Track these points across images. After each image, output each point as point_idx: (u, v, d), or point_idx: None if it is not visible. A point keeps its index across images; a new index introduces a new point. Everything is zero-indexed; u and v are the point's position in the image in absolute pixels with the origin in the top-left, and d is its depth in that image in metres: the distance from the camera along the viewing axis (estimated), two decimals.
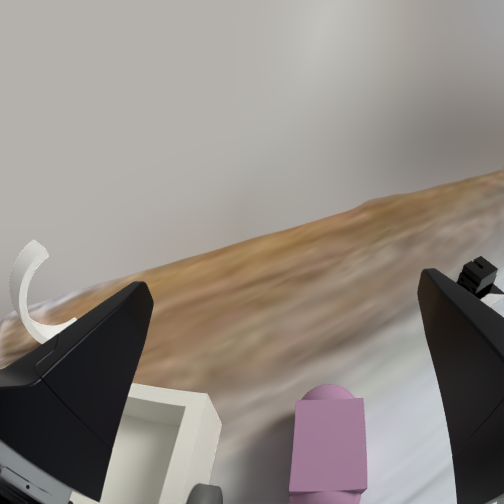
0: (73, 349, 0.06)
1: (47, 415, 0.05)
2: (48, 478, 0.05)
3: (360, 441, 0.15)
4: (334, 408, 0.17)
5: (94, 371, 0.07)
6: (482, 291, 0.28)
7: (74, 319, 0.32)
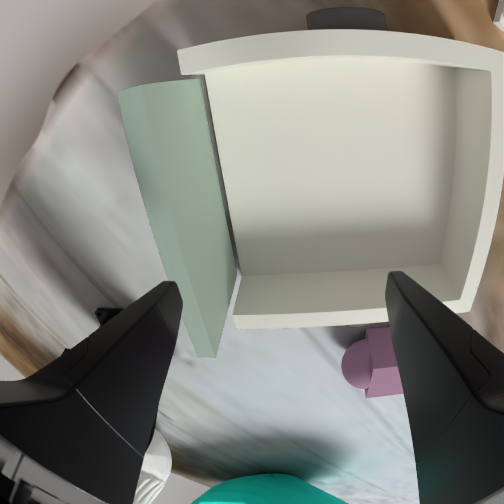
0: (107, 355, 0.06)
1: (80, 427, 0.05)
2: (79, 493, 0.05)
3: (401, 391, 0.23)
4: None
5: (128, 377, 0.07)
6: None
7: None
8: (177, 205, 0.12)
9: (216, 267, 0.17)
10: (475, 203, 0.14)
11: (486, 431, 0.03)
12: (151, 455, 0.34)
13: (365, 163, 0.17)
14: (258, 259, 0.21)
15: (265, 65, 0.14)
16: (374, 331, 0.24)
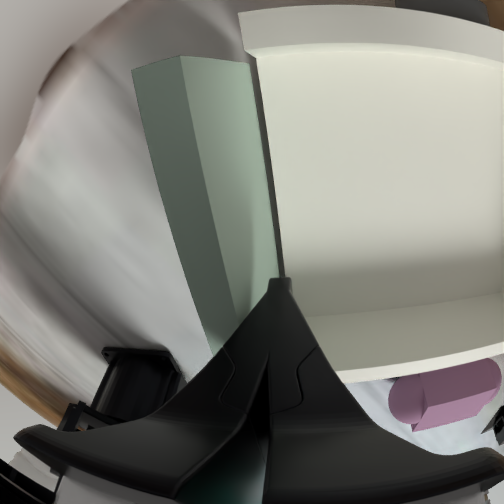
0: (267, 366, 0.06)
1: (246, 460, 0.04)
2: None
3: (447, 422, 0.19)
4: (478, 406, 0.17)
5: None
6: (498, 424, 0.28)
7: None
8: (236, 267, 0.08)
9: None
10: None
11: None
12: None
13: (449, 186, 0.12)
14: (312, 299, 0.17)
15: (340, 52, 0.10)
16: None
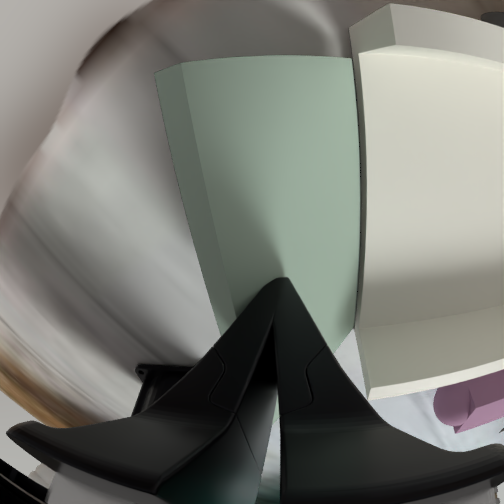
0: (256, 365, 0.06)
1: (235, 458, 0.04)
2: None
3: (486, 421, 0.17)
4: None
5: (264, 388, 0.06)
6: None
7: None
8: (249, 264, 0.08)
9: None
10: None
11: None
12: None
13: None
14: (384, 308, 0.15)
15: (438, 60, 0.09)
16: None
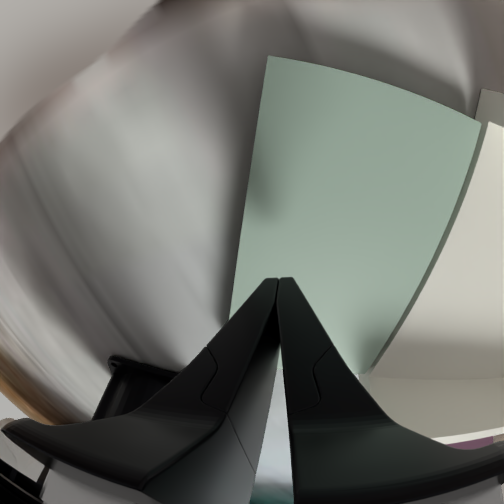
0: (248, 365, 0.06)
1: (226, 458, 0.04)
2: None
3: None
4: None
5: (257, 388, 0.06)
6: None
7: None
8: (268, 213, 0.10)
9: None
10: None
11: None
12: None
13: None
14: (400, 363, 0.14)
15: None
16: None
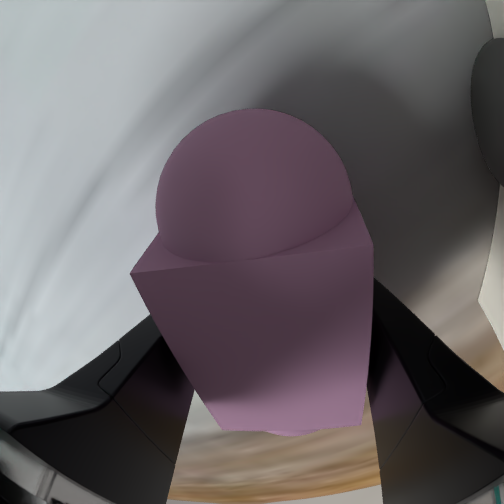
0: (144, 359, 0.06)
1: (117, 438, 0.05)
2: None
3: (198, 375, 0.07)
4: (277, 421, 0.08)
5: (163, 382, 0.07)
6: None
7: None
8: None
9: None
10: None
11: (434, 445, 0.03)
12: None
13: None
14: None
15: None
16: None
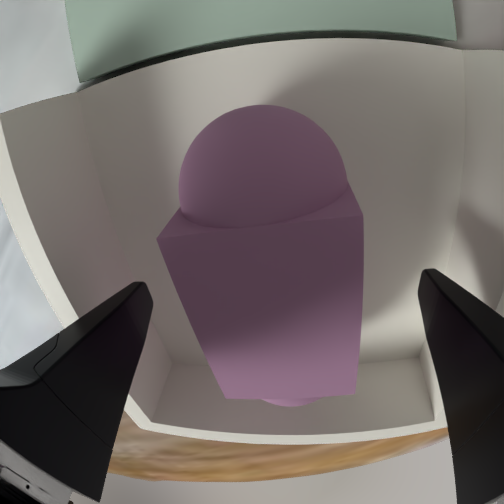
0: (73, 349, 0.06)
1: (46, 415, 0.05)
2: (48, 478, 0.05)
3: (208, 338, 0.08)
4: (278, 388, 0.09)
5: (94, 371, 0.07)
6: None
7: None
8: None
9: None
10: (278, 419, 0.13)
11: None
12: None
13: None
14: (111, 115, 0.09)
15: (464, 143, 0.08)
16: None
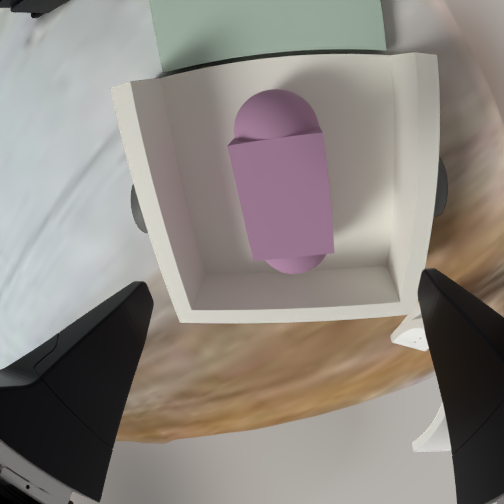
0: (73, 349, 0.06)
1: (47, 415, 0.05)
2: (48, 478, 0.05)
3: (247, 207, 0.15)
4: (286, 246, 0.16)
5: (94, 371, 0.07)
6: None
7: (424, 349, 0.26)
8: None
9: (203, 4, 0.13)
10: (286, 300, 0.20)
11: None
12: None
13: None
14: (184, 93, 0.17)
15: (393, 109, 0.15)
16: None
